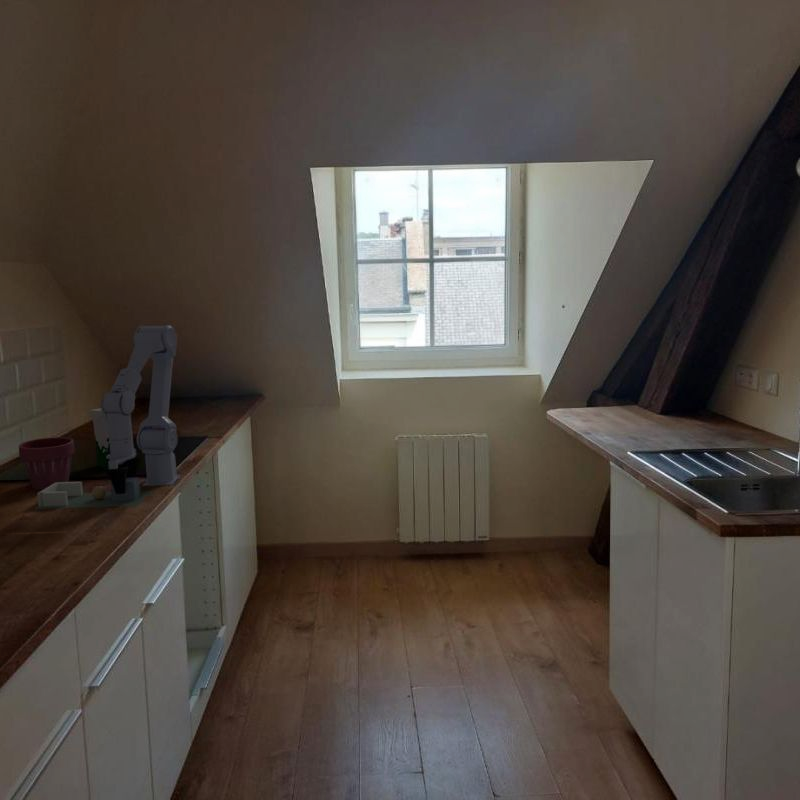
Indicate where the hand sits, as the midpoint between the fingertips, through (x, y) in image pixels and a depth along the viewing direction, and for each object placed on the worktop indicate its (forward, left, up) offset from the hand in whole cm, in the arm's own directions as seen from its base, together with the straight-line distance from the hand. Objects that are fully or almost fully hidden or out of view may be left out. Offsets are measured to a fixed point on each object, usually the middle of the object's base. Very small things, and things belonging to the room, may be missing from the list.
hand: (125, 489), depth 198 cm
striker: (0, 0, -2) cm, 2 cm away
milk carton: (-39, -18, -3) cm, 43 cm away
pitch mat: (+1, -8, -3) cm, 8 cm away
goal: (0, -17, -2) cm, 17 cm away
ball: (0, -7, -1) cm, 7 cm away
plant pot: (-16, -27, -3) cm, 31 cm away
